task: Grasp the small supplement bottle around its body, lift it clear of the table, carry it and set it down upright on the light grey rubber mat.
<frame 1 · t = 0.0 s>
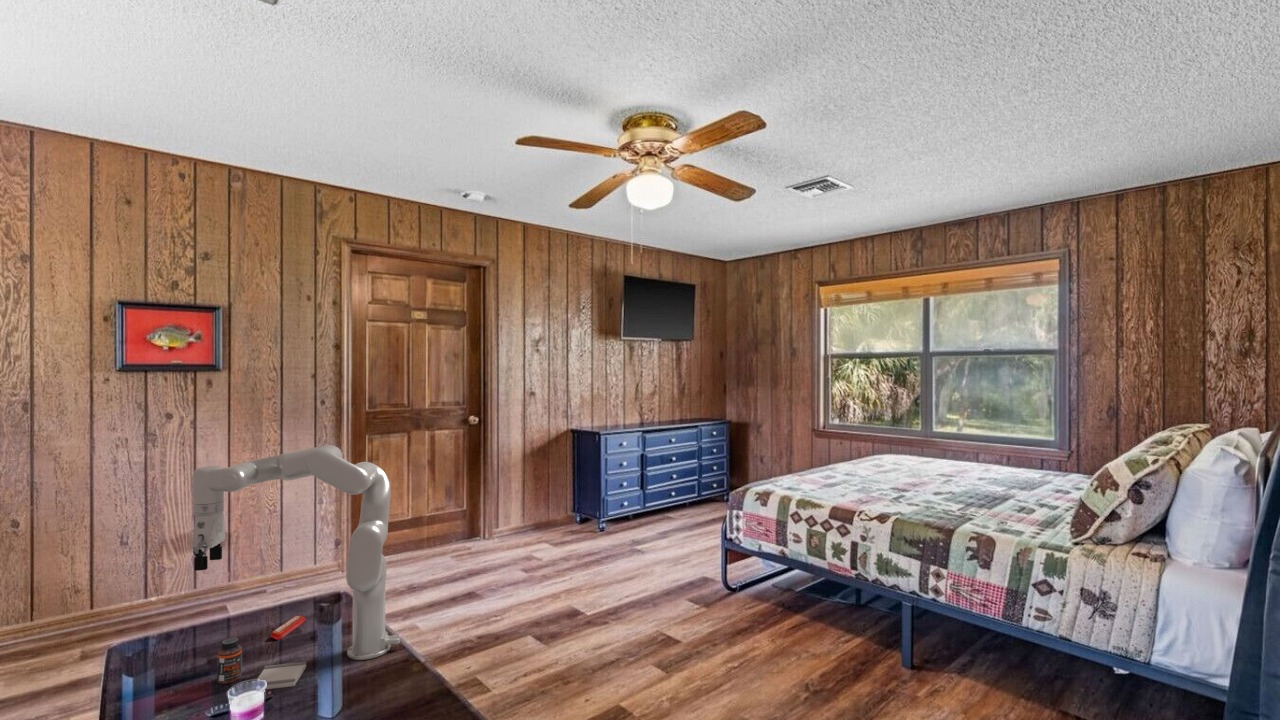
hand: (208, 564, 182), 31 cm above the table, fingers open, 9 cm apart
mat: (279, 678, 176), on the table
supplement bottle: (229, 680, 176), on the table
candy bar: (288, 632, 208), on the table
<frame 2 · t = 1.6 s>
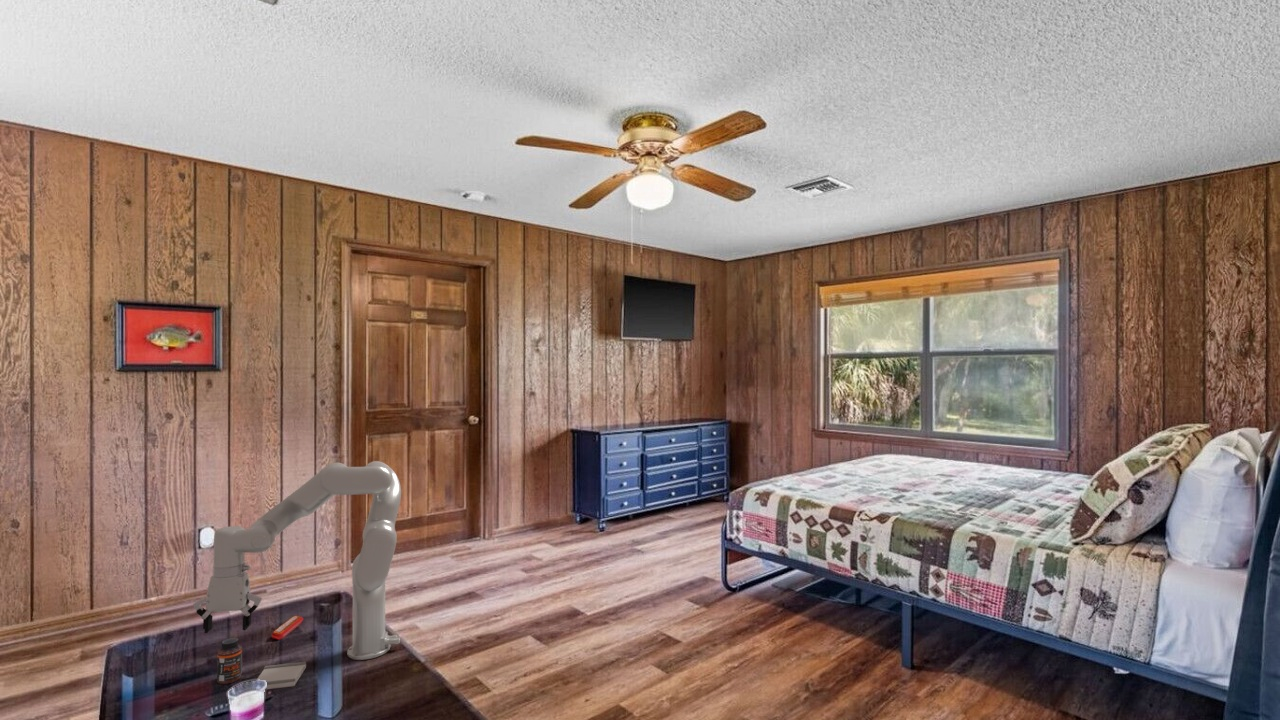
hand: (227, 629, 175), 15 cm above the table, fingers open, 9 cm apart
nothing on the table moved.
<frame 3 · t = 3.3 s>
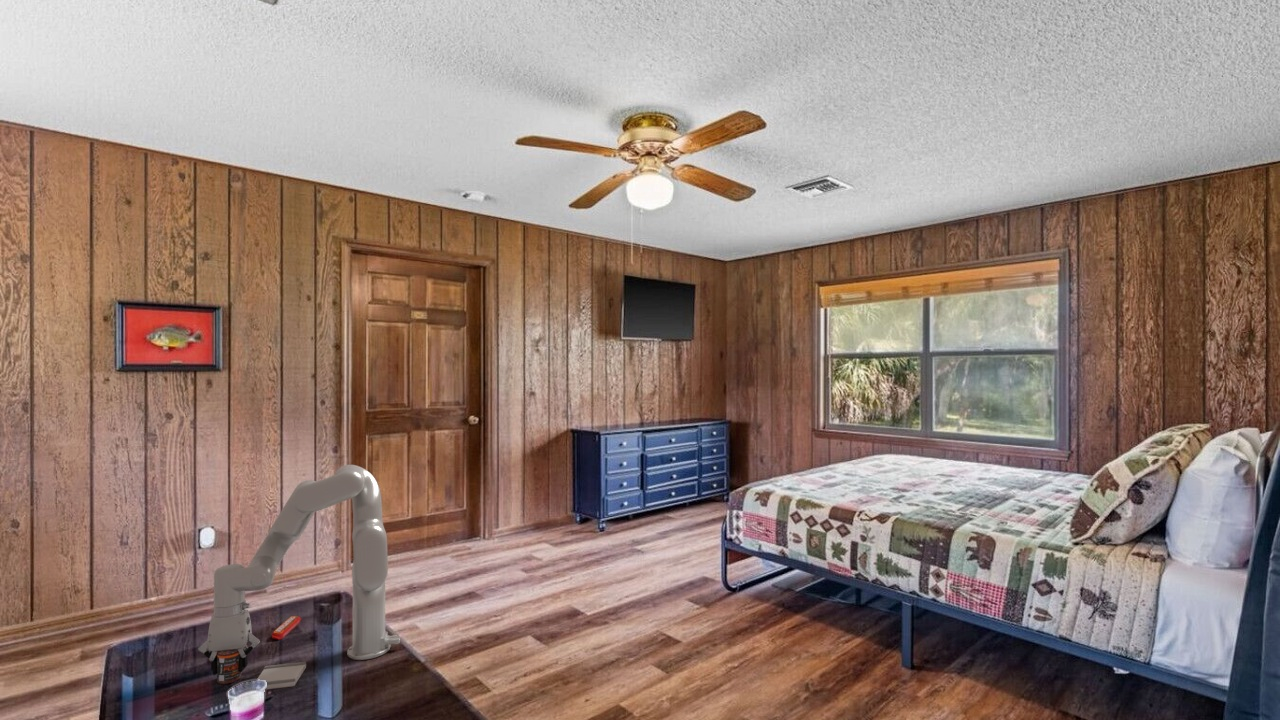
hand: (229, 670, 176), 3 cm above the table, fingers closed on supplement bottle, 6 cm apart
supplement bottle: (229, 680, 176), on the table, touching gripper
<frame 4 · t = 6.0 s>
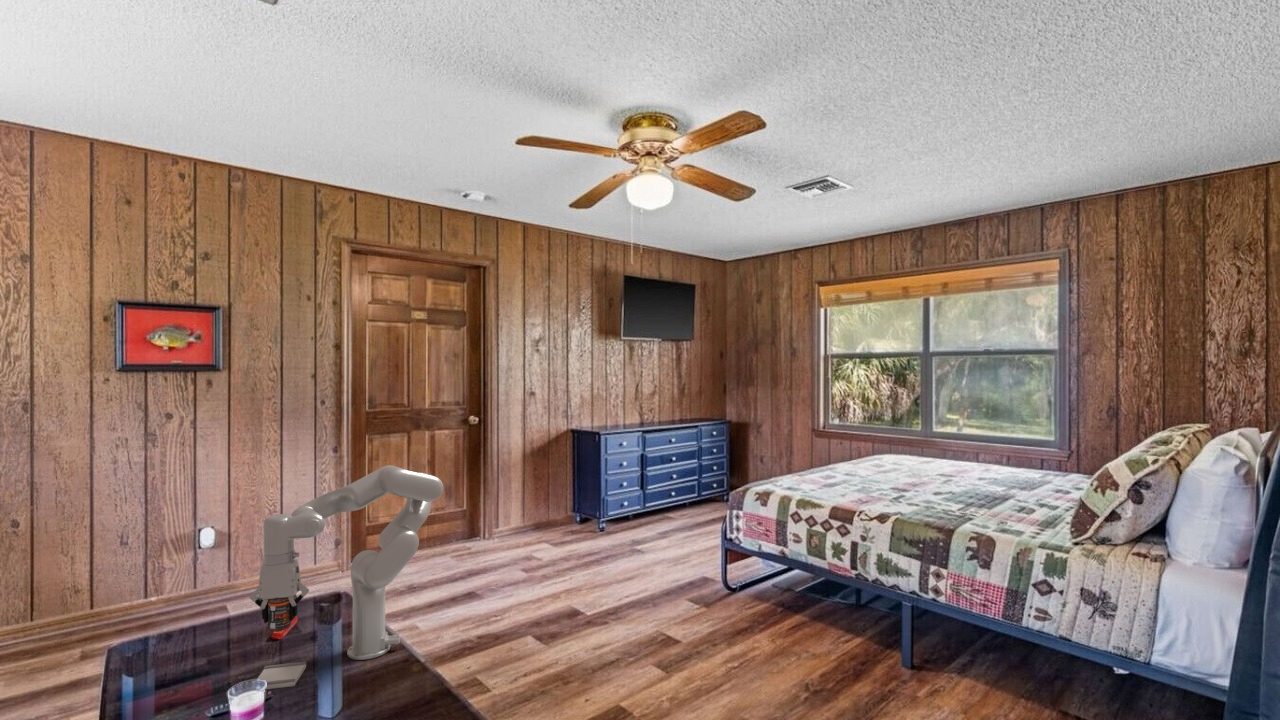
hand: (280, 619, 176), 17 cm above the table, fingers closed on supplement bottle, 6 cm apart
supplement bottle: (279, 628, 176), point 14 cm above the table, touching gripper
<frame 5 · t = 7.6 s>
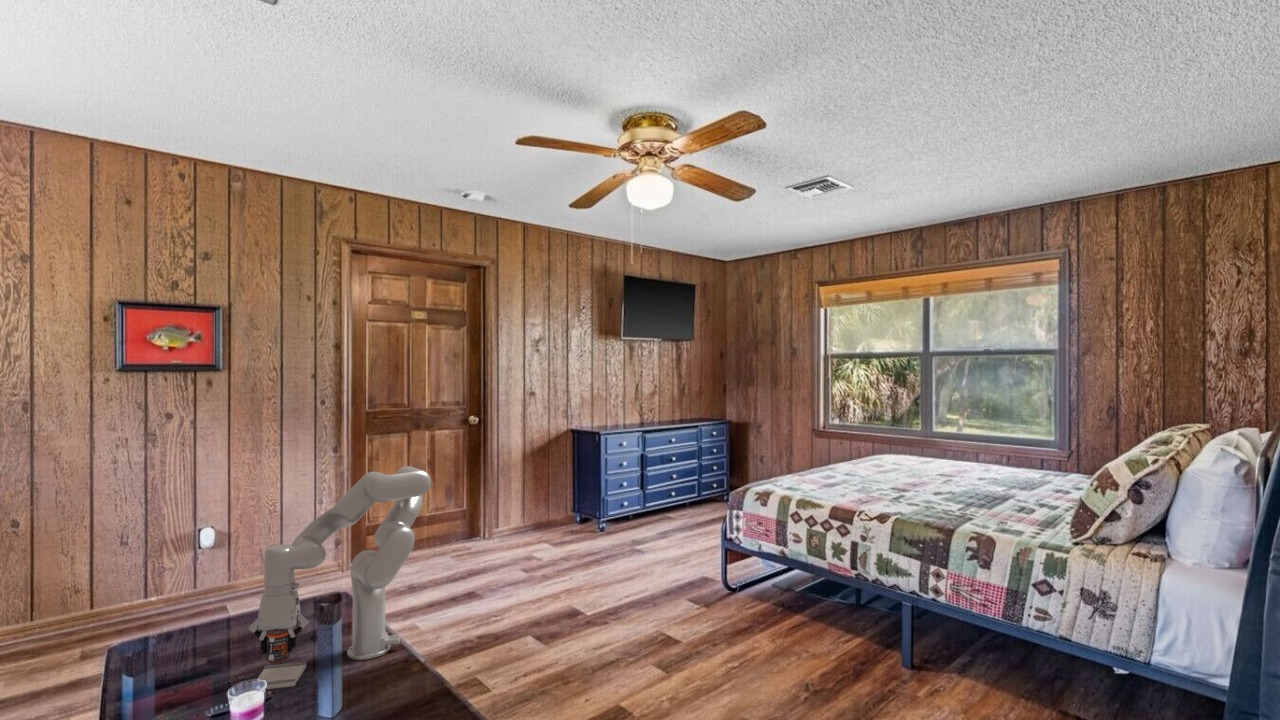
hand: (278, 650, 176), 8 cm above the table, fingers closed on supplement bottle, 6 cm apart
supplement bottle: (278, 660, 176), point 5 cm above the table, touching gripper
when the fingers open (5 cm above the table, at t = 8.8 s): supplement bottle drops 1 cm, resting on mat.
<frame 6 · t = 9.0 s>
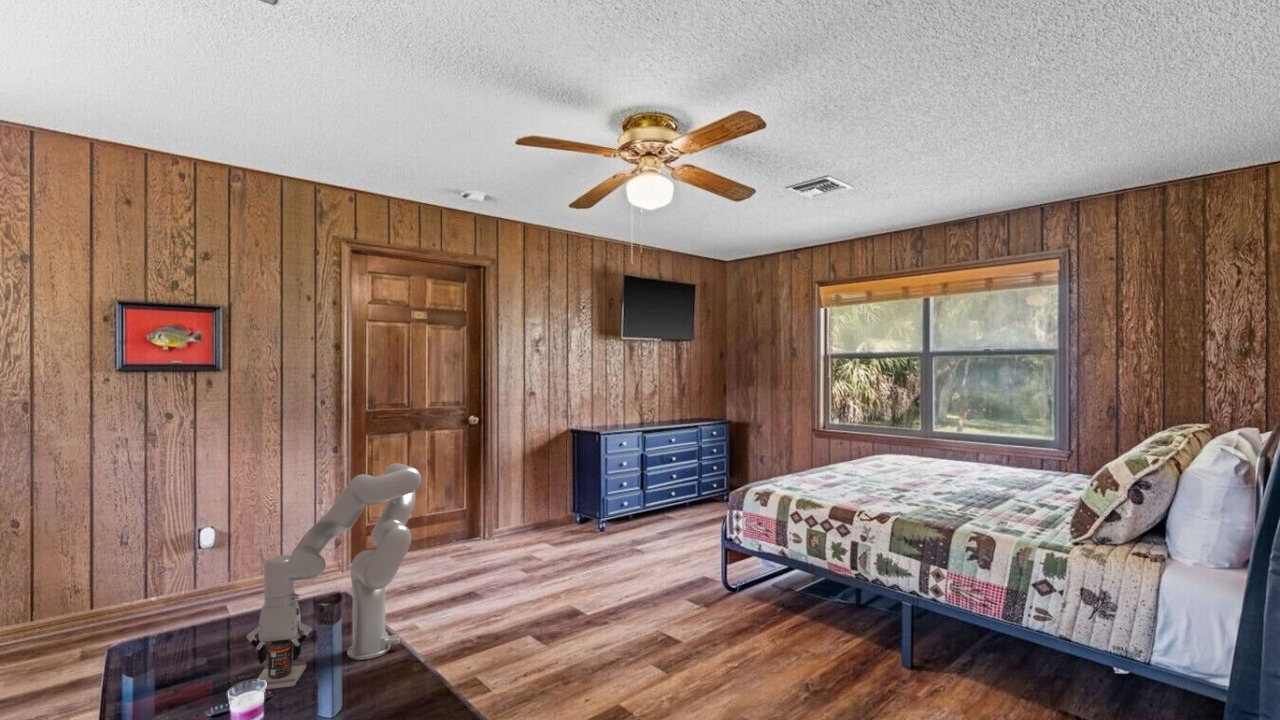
hand: (279, 659, 176), 6 cm above the table, fingers open, 8 cm apart
supplement bottle: (280, 675, 176), point 1 cm above the table, touching mat
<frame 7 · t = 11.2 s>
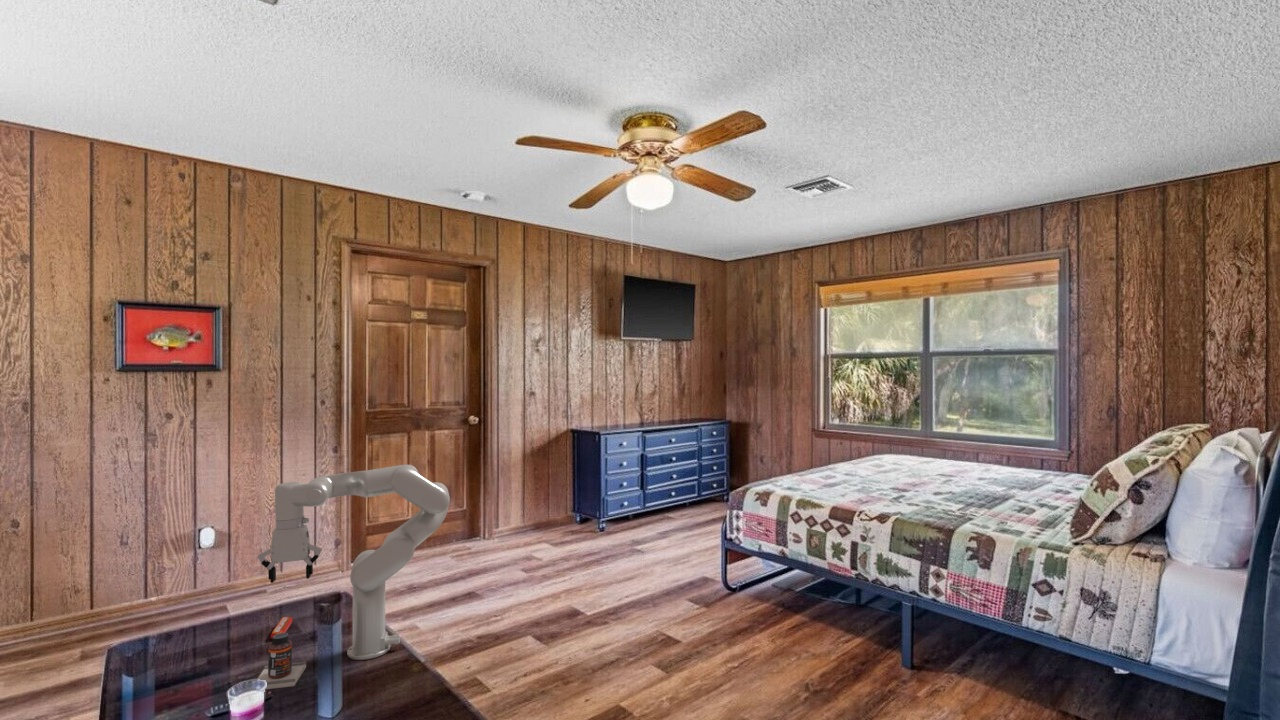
hand: (291, 579, 185), 26 cm above the table, fingers open, 9 cm apart
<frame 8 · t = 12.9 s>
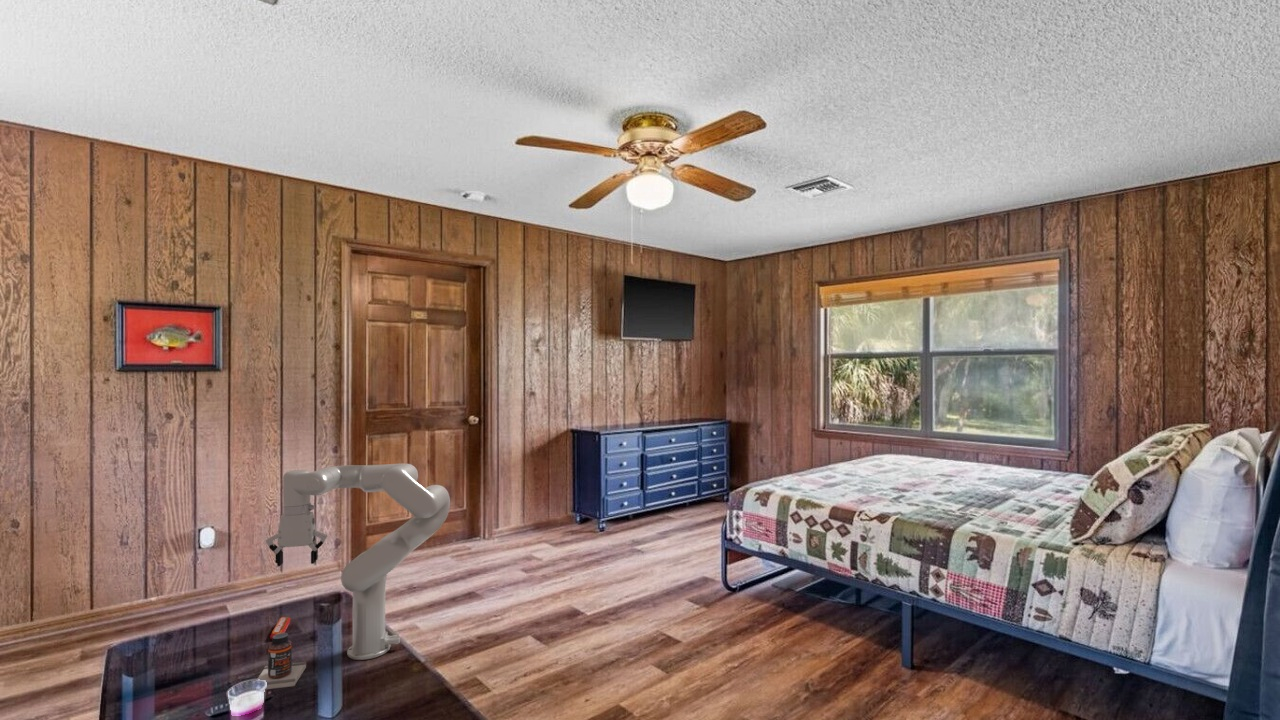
hand: (296, 563, 192), 28 cm above the table, fingers open, 9 cm apart
at the end: supplement bottle inside the target area on the mat (0.1 cm from its centre), point 1.0 cm above the mat's base; supplement bottle tilted 0°; the gripper is holding nothing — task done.
